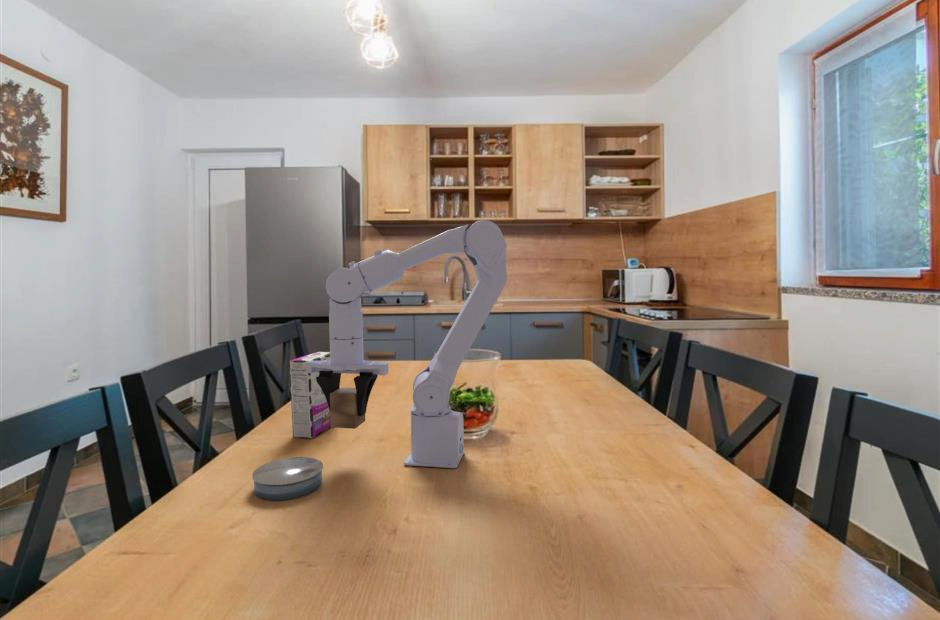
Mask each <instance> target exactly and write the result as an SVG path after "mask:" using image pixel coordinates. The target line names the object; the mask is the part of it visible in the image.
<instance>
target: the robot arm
mask: <svg viewBox="0 0 940 620" xmlns="http://www.w3.org/2000/svg"><path fill="white" fill-rule="evenodd" d="M507 248H508V247H507V242H506V239H505V237H504V235H503V233H502V230H501V229H500V227H499V226H498V225H497V224H496V223H495V222H493V221H490V220H487V219H485V220H484V219H481V220H477V221H475V222H474V223H473V224H472V225H470V227H469V224H466V225H462V226H459V227H455V228H453V229H448V230H446V231H444V232H442V233H440V234H437V235H435V236H433V237H431V238H429V239H427V240H424V241H422V242H421V243H418V244H416V245H414V246H412V247H409V248H408V249H405V250H403V251H401V252H395V251H393V250H390V249H386V250H384V251H383V250H382V249H381V248H380V249H377V250H375V251H373V254H374V255H372V256H370V257H367V258H365V259H363V260H361V261H358V262H355V261H351V262H349V263H348V266H349V268H347V267H338V268H337V269H336V270H334V271H333V272H331V273H330V274H329V275H328V277H327V278H326V281H325V290H326V293H327V295H328V296H329V302H328V303H329V312H328V320H329V321H328V322H329V323H328V325H329V326H328V327H329V352H330V360H323V361H309V362H306V370H307V373H314V372H317V373H319V376H318V377H316V381H317V383H318V384H319V386H320V387H321V389H322V391H323V393H324V395H325V397H326V400H327V403H328V406H329V410H330V393H332V392H333V391H335V390H337V389H339V388H341V387H340V386H341V385H340V384H341V377H342V374H354V375H356V374H357V375H356V376H355V377H354V378H353V381H354V386H355V387H354V388H356V393H357V413H358V416H362V415H364V414H365V415H366V414H367V408H368V402H369V399H370V395H371V392H372V389H373V387H374V385H375V383H376V381H377V379H378V376H386V375H388V374H389V362H384V361H383V362H382V361H372V360H364V359H365V358H364V321H363V320H364V318H363V317H364V314H363V313H364V311H363V310H362V295H364V293H366V294H371V293H374V292H375V291H378V290H380V289H383V288H385V287H387V286H389V285H391V284H394V283H397V282H400V281H402V279H403V277H404V273H405V271H406V270H408V269H410V268H413V267H415V266H418V265H420V264H422V263H425V262H427V261H430V260H432V259H436V258H437V257H440V256H442V255H446V254H448V255H449V254H450V255H455V256H456V255H458V256H461V255H462V254H465V255H466V257H467V258H468V259H469V261H470V262H471V264H472V267H473V270H474V273H475V276H476V278H477V279H476V283H475V284H474V286H473V288H472V289H471V291H470V293H469V295H468V296H467V299H466V301H465V302H464V304H463V306H462V307H461V310H460V311H459V313H458V315H457V317H456V318H455V320H454V322H453V323H452V325H451V327H450V329H449V330H448V333H447V334H446V336H445V338H444V339H443V341H442V343H441V345H440V346H439V349H438V350H437V352H436V354H435V355H434V356H433V358H432V359H431V360H430V361H429V363H428V365H427V367H425V369H423V370H422V371H420V372H418V373H417V375H415V378H414V380H413V382H412V389H413V392H412V403H413V405H412V406H411V407H410V445H411V446H410V451H411V452H410V454H409V455H408V456H407V458H406V459H405V460H404V462H403V464H404V465H405V466H411V467H413V466H416V467H432V468H444V469H445V468H446V469H447V468H448V469H457V468H458V466H459V465H460V462H461V460H462V458H463V456H464V454H465V449H464V448H465V446H464V445H465V443H464V441H465V440H464V439H465V438H464V435H465V433H464V427H465V426H464V415H463V412H461V411H454V410H452V408H451V405H450V404H449V401H450V391H451V389H452V387H453V384H454V383H455V379H456V377H457V374H458V371H459V368H460V367H461V365H462V363H463V361H464V359H465V357H467V354H468V352H469V351H470V348H471V346H472V345H473V344H474V342H475V340H476V338H477V337H478V334H479V333H480V331H481V329H482V327H483V325H484V324H485V322H486V320H487V318H488V317H489V314H490V313H491V312H492V309H493V308H494V306H495V304H496V302H497V300H498V299H499V297H500V295H501V293H502V292H503V290H504V288H505V287H506V284H507V282H508V281H507V279H508V278H507V277H508V276H507V255H506V254H507ZM358 374H359V375H358Z"/></svg>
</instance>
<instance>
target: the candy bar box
mask: <svg viewBox="0 0 940 620" xmlns="http://www.w3.org/2000/svg"><path fill="white" fill-rule="evenodd" d="M323 360H330V351H316V352H313V353H310V354H309V353H308V354H306V355H303V356H300V357H297V358H294V359H291V360H289V380H290V381H289V382H290V386H289V387H290V401H291V402H290V403H291V404H290V405H291V423H292V424H291V425H292V426H291V427H292V438H296V439H314V438H316V437H317V436H320V435H321V434H322V433H324V432H325V431H327V430H328V429H330V428H332V427H331V418H330V410H329V406H328V403H327V400H326V397H325V395H324V393H323V391H322V389H321V387H320V386H319V384H318V383H317V381H316V377H318V376H319V373H317V372H314V373H307V370H306V362H309V361H323Z"/></svg>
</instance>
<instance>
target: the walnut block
mask: <svg viewBox="0 0 940 620" xmlns="http://www.w3.org/2000/svg"><path fill="white" fill-rule="evenodd" d="M330 418H331V427H330V428H336V429H352V430H353V429H354V430H355V429H357V428H358V427H359V426H361V425H362V424H363V423H365V422H366V413H365V414H364V415H362V416H358V413H357V393H356V387H342V386H341V387H339V389H337V390H335V391H333V392H332V393H330Z"/></svg>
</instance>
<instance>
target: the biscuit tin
mask: <svg viewBox="0 0 940 620" xmlns="http://www.w3.org/2000/svg"><path fill="white" fill-rule="evenodd" d="M323 468H324V463H323V462H322V461H321V460H319V459H317V458H314V457H307V456H292V457H284V458H280V459H274V460H272V461H270V462H266V463H263V464H262V465H260V466H258V467H257V468H256V469H254V471H253V472H252V480H253V489H254V495H255V497H256V498H257V499H260V500H262V501H268V502H286V501H292V500H296V499H297V500H298V499H300V498H304V497H307V496H309V495H310V494H312V493H315V492H316V491H318V490H319V488H321V486H322V484H323V470H324V469H323Z"/></svg>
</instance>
